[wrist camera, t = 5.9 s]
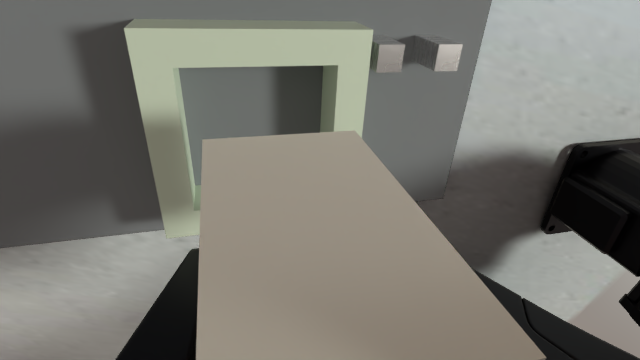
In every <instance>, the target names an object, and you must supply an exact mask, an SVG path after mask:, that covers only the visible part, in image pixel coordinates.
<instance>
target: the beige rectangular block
mask: <svg viewBox="0 0 640 360" xmlns="http://www.w3.org/2000/svg"><path fill="white" fill-rule="evenodd" d="M545 359H546V356H545V355H544V354H543V353H542V352H541V351H540V349H539V348H538V347H537V346H536V345H535V343H534V342H533V341H532V340H531V339H530V337H529V336H528V335H527V334H526V333H525V332H524V330H523V329H522V328H521V327H520V326H519V324H518V323H517V322H516V321H515V320H514V319H513V317H512V316H511V315H510V314H509V313H508V311H507V310H506V309H505V308H504V307H503V305H502V304H501V303H500V302H499V301H498V300H497V298H496V297H495V296H494V295H493V294H492V292H491V291H490V290H489V289H488V288H487V286H486V285H485V284H484V283H483V282H482V281H481V279H480V278H479V277H478V276H477V275H476V273H475V272H474V271H473V270H472V269H471V267H470V266H469V265H468V264H467V263H466V262H465V260H464V259H463V258H462V257H461V256H460V254H459V253H458V252H457V251H456V250H455V249H454V247H453V246H452V245H451V244H450V243H449V241H448V240H447V239H446V238H445V237H444V235H443V234H442V233H441V232H440V231H439V230H438V228H437V227H436V226H435V225H434V224H433V222H432V221H431V220H430V219H429V218H428V216H427V215H426V214H425V213H424V212H423V211H422V209H421V208H420V207H419V206H418V205H417V203H416V202H415V201H414V200H413V199H412V198H411V196H410V195H409V194H408V193H407V192H406V190H405V189H404V188H403V187H402V186H401V184H400V183H399V182H398V181H397V180H396V179H395V177H394V176H393V175H392V174H391V173H390V171H389V170H388V169H387V168H386V167H385V165H384V164H383V163H382V162H381V161H380V160H379V158H378V157H377V156H376V155H375V154H374V152H373V151H372V150H371V149H370V148H369V146H368V145H367V144H366V143H365V142H364V141H363V139H362V138H361V137H360V136H359V135H358V133H357V132H356V131H355V130H354V131H337V132H320V133H303V134H287V135H270V136H253V137H236V138H219V139H202V170H201V204H200V238H199V271H198V305H197V339H196V360H545Z"/></svg>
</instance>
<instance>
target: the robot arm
mask: <svg viewBox="0 0 640 360" xmlns="http://www.w3.org/2000/svg"><path fill="white" fill-rule="evenodd" d="M541 230H542V231H543V232H544V233H546V234H555V233H561V232H568V231H574V232H575V233H576V234H578V235H579V236H580V237H582V238H583V239H584V240H586V241H587V242H588V243H590V244H591V245H592V246H594V247H595V248H596V249H597V250H599V251H600V252H601V253H603V254H607V255H608V256H610V257H611V258H612V259H614V260H615V261H616V262H618V263H619V264H620V265H622V266H623V267H624V268H626V269H627V270H628V271H630V272H631V273H633V274H634V275H635V276H637V277H639V276H640V139H636V140H624V141H611V142H599V143H587V144H580V145H578V146H576V147H575V148H574V149H573V151H572V153H571V155H570V158H569V160H568V162H567V165H566V167H565V170H564V172H563V174H562V177H561V179H560V181H559V184H558V186H557V189H556V191H555V193H554V196H553V198H552V201H551V203H550V205H549V208H548V210H547V212H546V215H545V217H544V220H543V222H542V224H541ZM471 269H472V268H471ZM472 270H473V271H474V272H475V273H476V275H477V276H478V277H479V278H480V279H481V281H482V282H483V283H484V284H485V285H486V286H487V288H488V289H489V290H490V291H491V292H492V294H493V295H494V296H495V297H496V298H497V300H498V301H499V302H500V303H501V304H502V305H503V307H504V308H505V309H506V310H507V311H508V313H509V314H510V315H511V316H512V317H513V319H514V320H515V321H516V322H517V323H518V324H519V326H520V327H521V328H522V329H523V330H524V332H525V333H526V334H527V335H528V336H529V337H530V339H531V340H532V341H533V342H534V343H535V345H536V346H537V347H538V348H539V349H540V351H541V352H542V353H543V354H544V355H545V356H546V359H545V360H640V359H639V358H637V357H635V356H634V355H632V354H630V353H627V352H625V351H623V350H621V349H619V348H617V347H615V346H613V345H611V344H609V343H607V342H605V341H603V340H601V339H599V338H597V337H595V336H593V335H591V334H589V333H587V332H585V331H583V330H581V329H579V328H578V327H576V326H574V325H572V324H570V323H568V322H566V321H564V320H562V319H560V318H559V317H557V316H555V315H553V314H551V313H549V312H548V311H546V310H544V309H542V308H540V307H539V306H537V305H535V304H533V303H532V302H530V301H528V300H526V299H525V298H523V299H522V298H521V296H519V295H518V294H516V293H514V292H512V291H511V290H509V289H507V288H505V287H504V286H502V285H500V284H498V283H497V282H495V281H493V280H491V279H490V278H488V277H486V276H484V275H483V274H481V273H479V272H477V271H476V270H474V269H472ZM198 271H199V248H197V249H192V250H190V252H189V253H188V255H187V256H186V257H185V259H184V260H183V262H182V263H181V265H180V266H179V268H178V269H177V271H176V272H175V274H174V275H173V276H172V278H171V279H170V281H169V282H168V284H167V285H166V287H165V288H164V290H163V291H162V293H161V294H160V295H159V297H158V298H157V300H156V301H155V303H154V304H153V306H152V307H151V309H150V310H149V311H148V313H147V314H146V316H145V317H144V319H143V320H142V322H141V323H140V325H139V326H138V328H137V329H136V330H135V332H134V333H133V335H132V336H131V338H130V339H129V341H128V342H127V344H126V345H125V347H124V348H123V349H122V351H121V352H120V354H119V355H118V357H117V358H116V360H196V339H197V305H198ZM619 303H620V304H621V305H622V306H623V307H624V308H625V309H626V310H627V312H628V313H629V315H630V316H631V317H632V319H634V321H635V322H636V323H637V324H638V325H639V326H640V280H639V281H638V283H637V284H636V285H635V286H634V287H633V288H632V290H631V291H630V292H629V293H628V294H625V295H624V296H623V297H622V298H621V299H620V300H619Z"/></svg>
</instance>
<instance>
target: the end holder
mask: <svg viewBox="0 0 640 360" xmlns="http://www.w3.org/2000/svg"><path fill="white" fill-rule="evenodd" d="M124 32H125V36H126V41H127V46H128V51H129V56H130V61H131V66H132V71H133V76H134V81H135V86H136V91H137V96H138V101H139V106H140V110H141V115H142V120H143V125H144V130H145V135H146V140H147V145H148V150H149V155H150V160H151V165H152V170H153V175H154V180H155V184H156V189H157V194H158V199H159V204H160V209H161V214H162V219H163V224H164V229H165V234H166V239H167V238H176V237H184V236H193V235H200V204H201V185H195V181H194V174H193V167H192V160H191V153H190V146H189V139H188V132H187V125H186V118H185V111H184V104H183V97H182V90H181V83H180V76H179V69H178V68H206V67H265V66H323V81H322V102H321V123H320V132H337V131H354V130H355V131H356V132H357V133H358V135H359V136H360V137H361V138H362V131H363V122H364V113H365V103H366V94H367V85H368V75H369V66H370V57H371V48H372V38H373V29H371V28H368V27H366V26H364V25H362V24H359V23H357V22H355V21H273V20H189V19H134V20H133V21H131V22H130V23H129V24H128V25H127V26H126V27H125V28H124Z"/></svg>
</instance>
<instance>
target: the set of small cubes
mask: <svg viewBox="0 0 640 360" xmlns="http://www.w3.org/2000/svg"><path fill="white" fill-rule="evenodd" d="M462 46H463V44H460V43H457V42H455V41H452V40H449V39H446V38H443V37H440V36H437V35H415V37H414V43H413V50H412V56H411V60H413V61H415V62H417V63H419V64H420V65H422V66H424V67H426V68H428V69H430V70H432V71H457V69H458V64H459V60H460V55H461V51H462ZM404 49H405V44H403V43H400V42H398V41H396V40H394V39H392V38H389V37H387V36H385V35H373V38H372V48H371V57H370V66H369V68H370V69H372V70H373V71H374V72H376V73H389V72H401V69H402V62H403V56H404Z"/></svg>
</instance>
